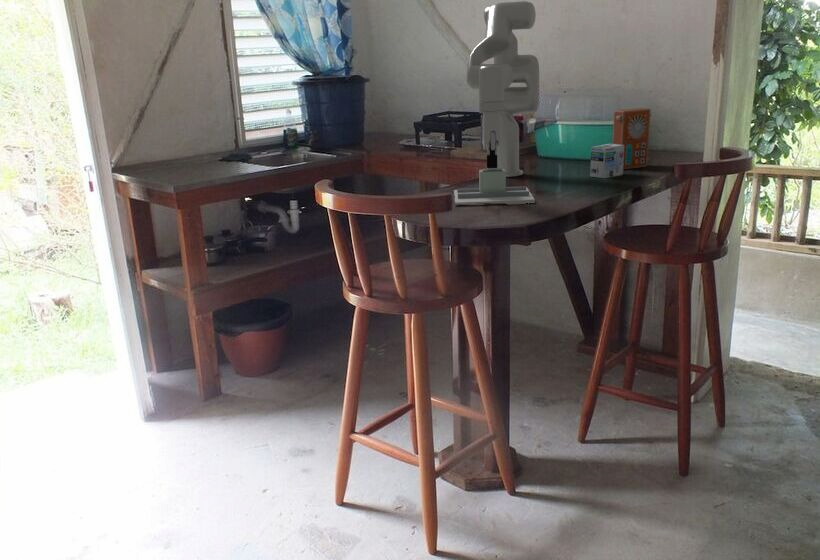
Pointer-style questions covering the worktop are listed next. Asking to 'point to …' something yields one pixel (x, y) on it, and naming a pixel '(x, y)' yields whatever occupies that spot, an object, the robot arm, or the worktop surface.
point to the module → (492, 180)
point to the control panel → (632, 135)
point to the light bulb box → (607, 160)
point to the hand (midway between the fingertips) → (492, 167)
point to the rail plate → (494, 196)
